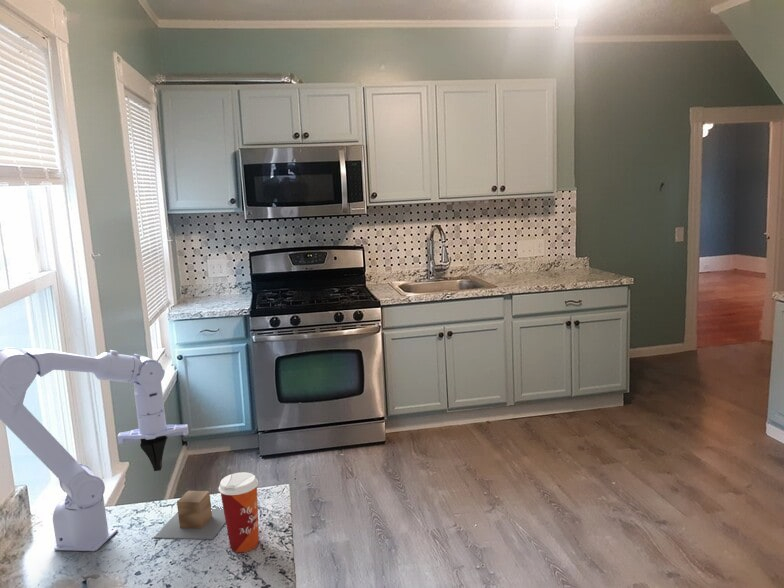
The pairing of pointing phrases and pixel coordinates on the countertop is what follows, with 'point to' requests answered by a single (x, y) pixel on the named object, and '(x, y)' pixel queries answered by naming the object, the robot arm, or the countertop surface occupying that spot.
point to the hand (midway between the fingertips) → (158, 469)
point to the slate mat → (207, 532)
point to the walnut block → (194, 509)
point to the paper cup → (240, 510)
